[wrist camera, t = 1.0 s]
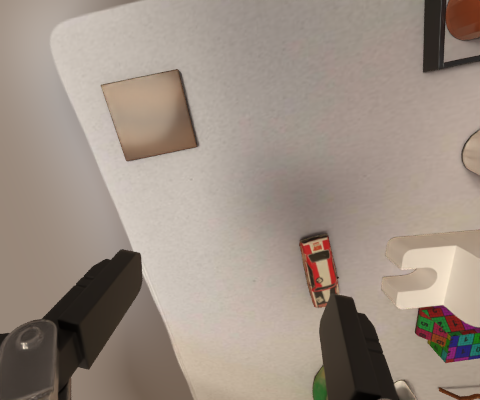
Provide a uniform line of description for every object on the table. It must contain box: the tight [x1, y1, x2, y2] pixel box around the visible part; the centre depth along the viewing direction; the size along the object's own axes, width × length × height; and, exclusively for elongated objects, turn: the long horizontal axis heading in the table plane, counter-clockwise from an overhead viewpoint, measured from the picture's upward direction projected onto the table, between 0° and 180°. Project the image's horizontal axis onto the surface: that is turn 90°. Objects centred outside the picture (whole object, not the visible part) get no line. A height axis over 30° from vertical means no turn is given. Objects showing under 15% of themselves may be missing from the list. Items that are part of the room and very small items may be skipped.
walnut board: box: [101, 69, 197, 161], centre depth 32 cm, size 9×9×1 cm
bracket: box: [381, 230, 480, 327], centre depth 37 cm, size 19×10×11 cm, turn 93°
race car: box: [299, 234, 339, 308], centre depth 40 cm, size 5×12×5 cm, turn 11°
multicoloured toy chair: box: [415, 305, 480, 363], centre depth 44 cm, size 12×8×7 cm
